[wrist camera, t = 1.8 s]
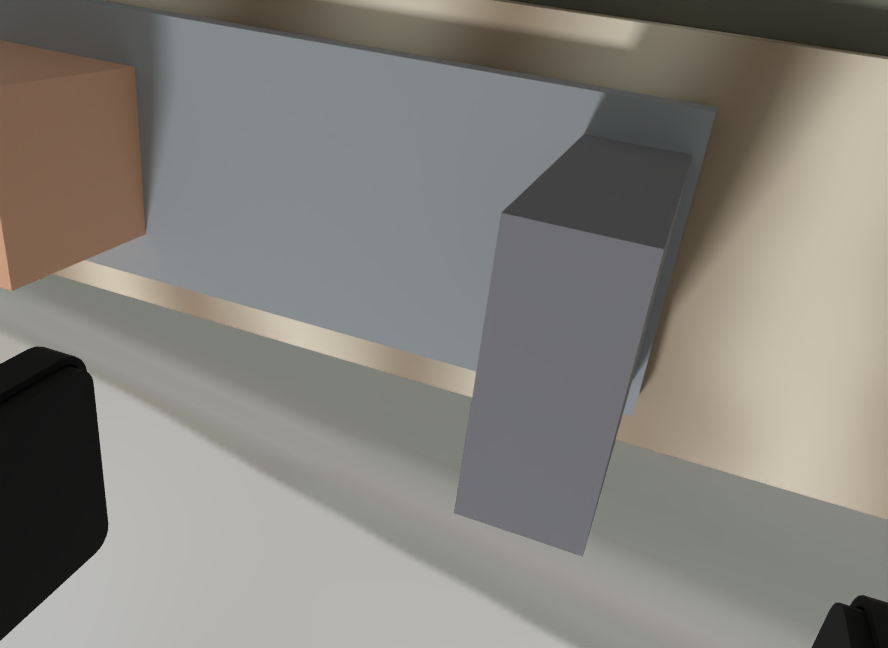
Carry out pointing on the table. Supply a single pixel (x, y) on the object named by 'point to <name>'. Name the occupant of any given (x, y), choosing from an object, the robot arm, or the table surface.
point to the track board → (704, 237)
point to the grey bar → (414, 222)
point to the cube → (65, 161)
